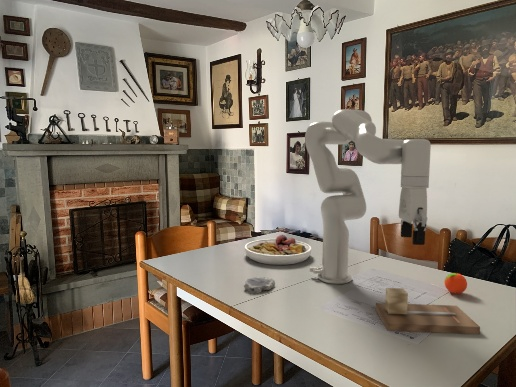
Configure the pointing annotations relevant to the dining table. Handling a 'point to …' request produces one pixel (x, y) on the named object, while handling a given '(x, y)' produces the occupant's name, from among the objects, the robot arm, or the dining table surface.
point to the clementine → (455, 283)
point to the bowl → (278, 251)
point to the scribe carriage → (396, 301)
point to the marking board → (429, 319)
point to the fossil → (258, 284)
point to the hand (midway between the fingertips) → (412, 240)
